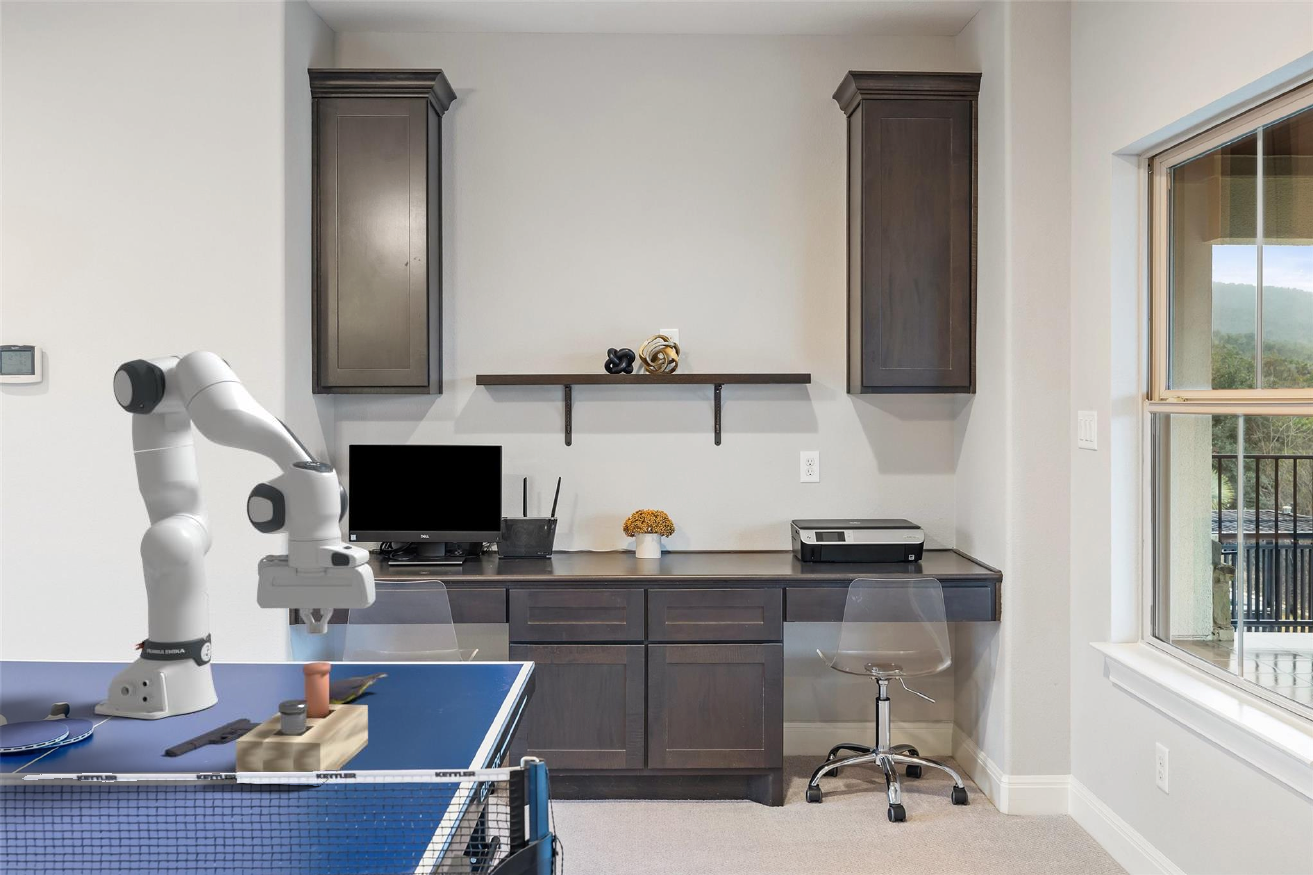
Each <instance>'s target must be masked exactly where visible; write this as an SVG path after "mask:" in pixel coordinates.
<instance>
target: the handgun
mask: <svg viewBox="0 0 1313 875" xmlns="http://www.w3.org/2000/svg"><path fill="white" fill-rule="evenodd" d="M262 723H263V722H251V719H250V718H246V717H245V718H239V719H236V720H234V721H231V722H228V723H227V724H224V725H222V726H220V727H217V728H215V729H212V730H210V731H207V732H205V733H203V734H200V735H198V736H196V737H193V738H190V739H188V740H186V741H184V742H181V743H179V744H176V745H174V746H172V747H169V748H167V749H165V751H164V755H165V754H166V755H168V754H170V755H168V756H169V757H173V756H178V757H180V756H182V755H185V754H187V753H189V752H191V751H193V750H197V749H201V748H202V747H205V746H206V745H210V744H218V745H221V744H223V745H224V744H228V743H229V742H230V743H231V742H232V741H234V740H237V739H239V738H241V737H242V736H244V735H245V734H247V733H248V732H250V731H251V730H253V729H254V728H256V727H257V726H259V725H261V724H262ZM204 745H205V746H204ZM184 753H185V754H184ZM166 755H165V756H166Z"/></svg>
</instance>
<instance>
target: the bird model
mask: <svg viewBox="0 0 1313 875" xmlns="http://www.w3.org/2000/svg"><path fill="white" fill-rule="evenodd" d="M388 676H389V675H388V674H387V673H385V672H376V673H374V674H371V675H365V676H358V677H356V676H355V677H354V676H353V677H347V678H340V679H338V680H334V681H329V704H338V705H343V704H344V703H347V702H348V701H351V700H352V699H354V698H356V697H359V696H360V695H361V694H362V693H363V691H365V690H366V688H369V687H371V686H373V685H375V683H376V682H377V681H378V679H380V678H384V677H388Z"/></svg>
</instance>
